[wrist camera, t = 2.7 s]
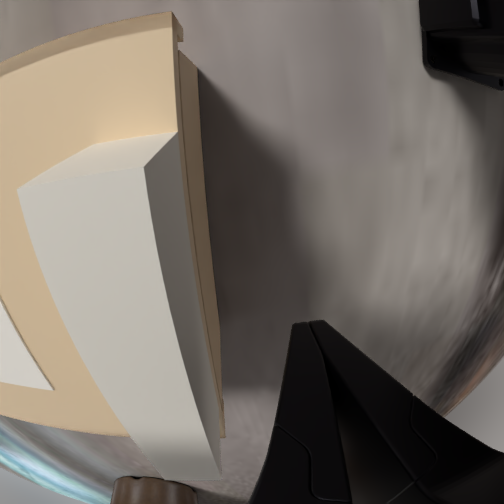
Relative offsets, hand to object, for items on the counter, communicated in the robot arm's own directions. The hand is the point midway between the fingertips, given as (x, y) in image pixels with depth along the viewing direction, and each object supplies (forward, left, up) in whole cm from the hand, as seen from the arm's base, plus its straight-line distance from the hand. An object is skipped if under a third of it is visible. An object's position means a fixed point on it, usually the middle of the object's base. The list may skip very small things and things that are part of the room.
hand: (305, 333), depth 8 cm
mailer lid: (+11, 0, -3) cm, 11 cm away
